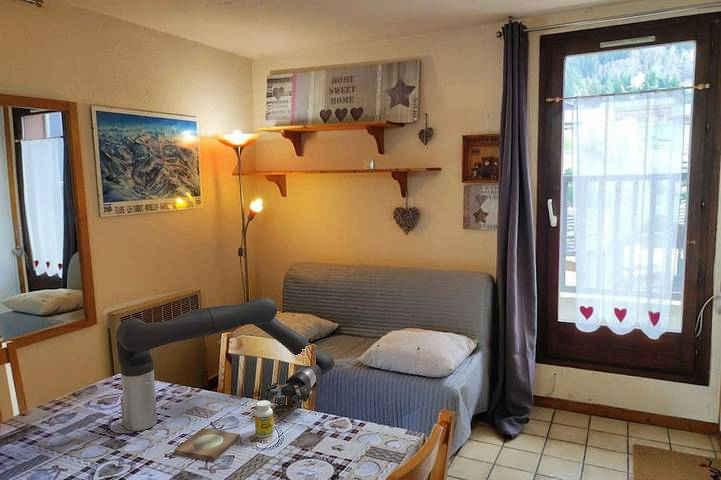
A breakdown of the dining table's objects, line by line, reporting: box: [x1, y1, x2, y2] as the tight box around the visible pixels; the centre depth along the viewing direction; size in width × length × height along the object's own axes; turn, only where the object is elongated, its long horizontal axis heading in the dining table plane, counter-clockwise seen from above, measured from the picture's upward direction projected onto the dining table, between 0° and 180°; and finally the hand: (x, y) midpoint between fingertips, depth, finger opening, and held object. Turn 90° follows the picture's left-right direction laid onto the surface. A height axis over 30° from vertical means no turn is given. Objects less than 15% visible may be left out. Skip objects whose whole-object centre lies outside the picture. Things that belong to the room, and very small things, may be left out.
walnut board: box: [173, 427, 241, 462], centre depth 150 cm, size 13×13×1 cm
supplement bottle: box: [254, 399, 275, 438], centre depth 156 cm, size 5×5×10 cm
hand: (279, 401), depth 165 cm, fingers open, 8 cm apart
